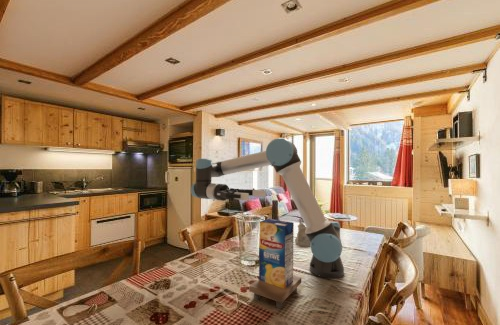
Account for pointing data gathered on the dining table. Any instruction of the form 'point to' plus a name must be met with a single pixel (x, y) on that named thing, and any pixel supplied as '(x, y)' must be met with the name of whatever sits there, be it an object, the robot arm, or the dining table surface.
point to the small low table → (274, 290)
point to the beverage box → (276, 252)
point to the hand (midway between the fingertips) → (257, 195)
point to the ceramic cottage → (302, 235)
